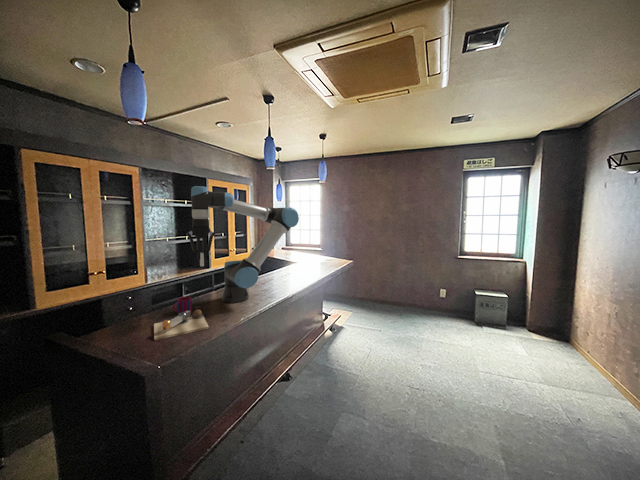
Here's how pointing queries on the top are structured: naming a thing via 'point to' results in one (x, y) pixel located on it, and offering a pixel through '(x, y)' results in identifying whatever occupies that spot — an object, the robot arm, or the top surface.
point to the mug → (183, 304)
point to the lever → (176, 320)
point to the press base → (182, 326)
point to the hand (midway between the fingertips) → (202, 265)
